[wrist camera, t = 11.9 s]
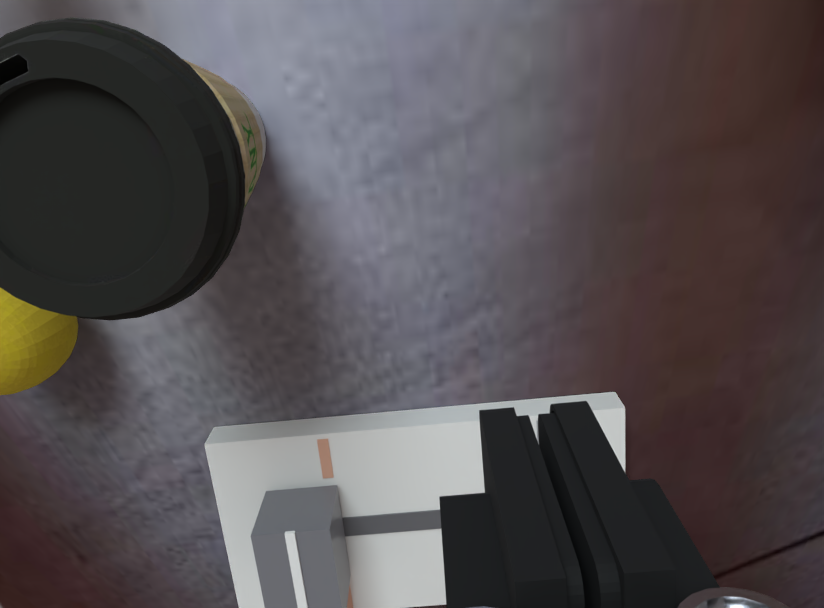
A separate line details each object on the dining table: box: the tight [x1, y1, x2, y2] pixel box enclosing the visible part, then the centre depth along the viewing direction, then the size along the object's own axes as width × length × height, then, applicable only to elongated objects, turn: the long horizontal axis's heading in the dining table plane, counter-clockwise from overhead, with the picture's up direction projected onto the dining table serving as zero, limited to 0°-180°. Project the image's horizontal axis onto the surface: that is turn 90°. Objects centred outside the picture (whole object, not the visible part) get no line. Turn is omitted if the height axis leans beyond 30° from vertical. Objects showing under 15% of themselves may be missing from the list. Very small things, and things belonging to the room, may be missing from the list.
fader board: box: [204, 392, 625, 608], centre depth 42 cm, size 23×12×2 cm, turn 96°
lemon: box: [0, 288, 78, 395], centre depth 35 cm, size 6×6×8 cm
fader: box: [251, 485, 351, 608], centre depth 39 cm, size 4×6×4 cm, turn 6°
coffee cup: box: [0, 18, 266, 320], centre depth 29 cm, size 10×10×15 cm
